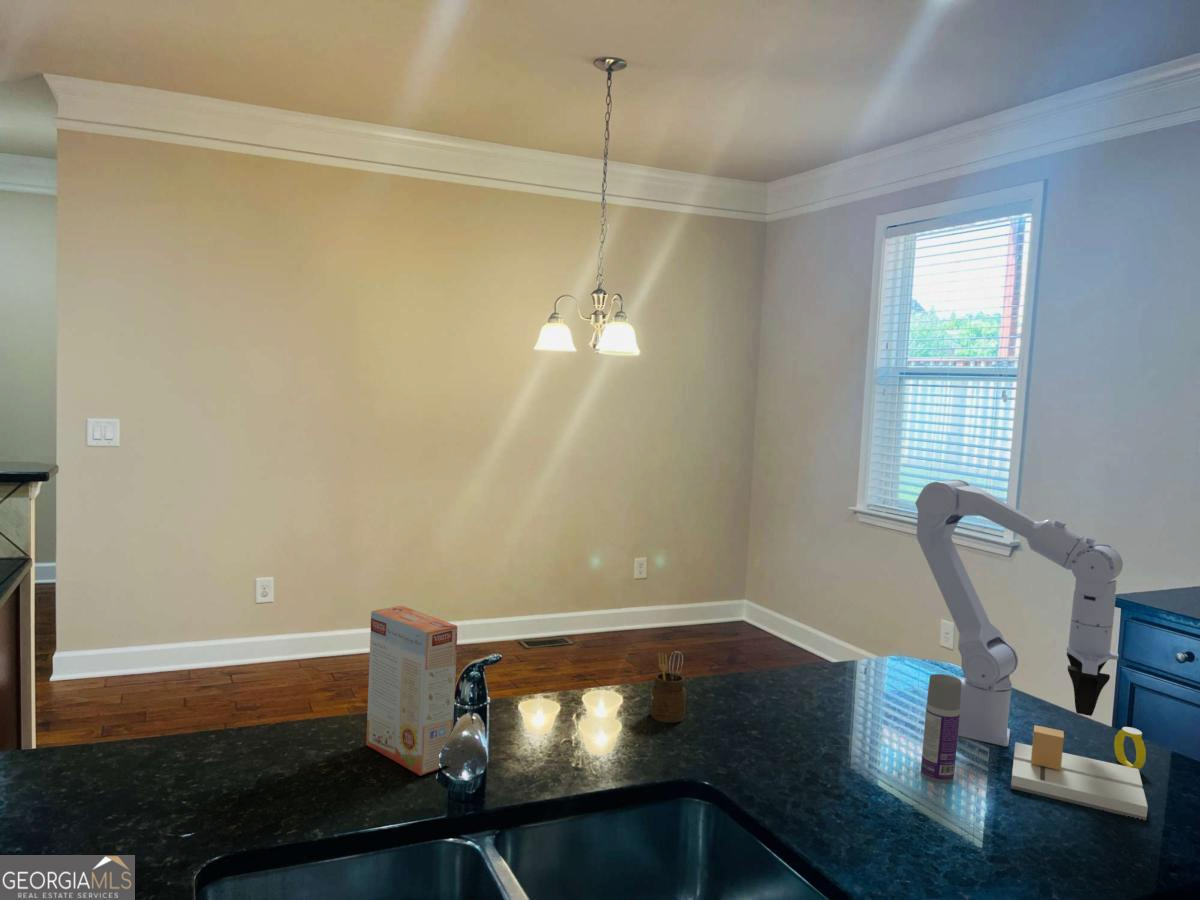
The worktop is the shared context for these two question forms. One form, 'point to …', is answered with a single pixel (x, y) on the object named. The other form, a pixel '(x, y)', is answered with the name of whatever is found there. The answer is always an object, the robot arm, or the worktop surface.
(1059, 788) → the fader console
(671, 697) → the utensil holder
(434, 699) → the cracker box
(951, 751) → the container
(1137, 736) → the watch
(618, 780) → the worktop surface
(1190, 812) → the worktop surface
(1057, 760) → the fader tab
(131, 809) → the worktop surface
